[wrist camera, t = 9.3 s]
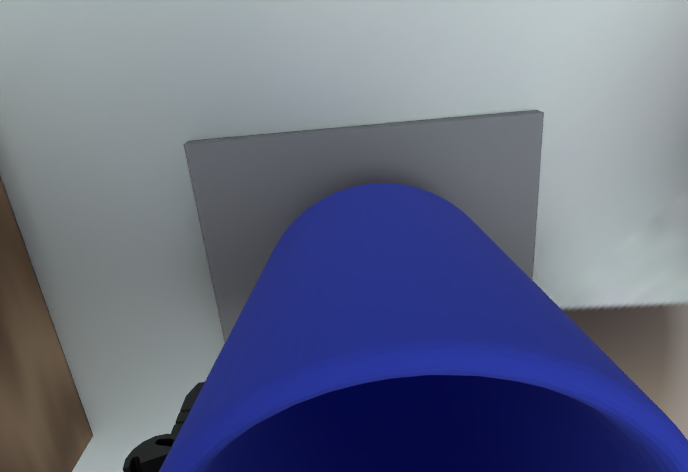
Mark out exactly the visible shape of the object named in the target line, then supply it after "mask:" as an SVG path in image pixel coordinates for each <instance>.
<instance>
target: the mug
mask: <svg viewBox="0 0 688 472" xmlns="http://www.w3.org/2000/svg"><path fill="white" fill-rule="evenodd" d="M159 472H688V440H687V439H686V438H685V437H684V435H683V434H682V433H681V431H680V430H679V429H678V427H677V426H676V425H675V424H674V423H673V422H672V421H671V420H670V419H669V418H668V416H666V414H665V413H664V412H663V411H662V410H661V409H660V408H659V407H658V406H657V405H656V404H654V402H653V401H652V400H650V398H649V397H648V396H647V395H646V394H645V393H644V392H643V391H642V390H641V389H640V388H639V387H638V386H637V385H636V384H635V383H634V382H633V381H632V380H631V379H630V378H629V377H628V376H627V375H626V374H624V372H623V371H622V370H621V369H620V368H619V367H618V366H617V365H616V364H615V363H614V362H613V361H612V360H611V359H610V358H609V357H608V356H607V355H606V354H605V353H604V352H603V351H602V350H601V349H600V348H599V347H598V346H597V345H596V344H595V343H594V342H593V341H592V340H591V339H590V338H589V337H588V336H587V335H586V334H585V333H584V332H583V331H582V330H581V329H580V328H579V327H578V326H577V325H576V324H575V323H574V322H573V321H572V320H571V319H570V318H569V317H568V316H567V315H566V314H565V313H564V312H563V311H562V310H561V309H560V308H559V307H558V306H557V305H556V304H555V303H554V302H553V301H552V300H551V299H550V298H549V297H548V296H547V295H546V294H545V293H544V292H543V291H542V290H541V289H540V288H539V287H538V286H537V285H536V284H535V283H534V282H533V281H532V280H531V279H530V278H529V277H528V276H527V275H526V274H525V273H524V272H523V271H522V270H521V269H520V268H519V267H518V266H517V265H516V264H515V263H514V262H513V261H512V260H511V259H510V258H509V257H508V256H507V255H506V254H505V253H504V252H503V251H502V250H501V249H500V248H499V247H498V246H497V245H496V244H495V243H494V242H493V241H492V240H491V238H490V237H489V236H488V235H487V234H486V233H485V232H484V231H483V230H482V229H481V228H480V227H479V226H478V225H477V224H476V223H475V222H474V221H473V220H472V219H471V218H470V217H468V216H467V215H466V214H465V213H464V212H463V211H461V210H460V209H459V208H457V207H456V206H455V205H453V204H452V203H450V202H448V201H447V200H445V199H443V198H441V197H439V196H437V195H435V194H433V193H431V192H428V191H425V190H422V189H419V188H416V187H412V186H407V185H402V184H393V183H372V184H364V185H358V186H354V187H350V188H347V189H344V190H341V191H338V192H336V193H334V194H331V195H329V196H327V197H325V198H323V199H322V200H320V201H318V202H316V203H315V204H314V205H312V206H311V207H309V208H308V209H307V210H306V211H304V212H303V213H302V214H301V215H300V216H299V217H297V219H296V220H295V221H294V222H293V223H292V224H291V225H290V226H289V227H288V228H287V230H286V231H285V232H284V234H283V235H282V236H281V238H280V240H279V241H278V243H277V245H276V246H275V248H274V250H273V251H272V253H271V255H270V257H269V259H268V261H267V263H266V265H265V267H264V269H263V271H262V273H261V275H260V277H259V279H258V281H257V282H256V284H255V286H254V288H253V290H252V292H251V294H250V296H249V298H248V300H247V302H246V304H245V306H244V308H243V310H242V312H241V313H240V315H239V317H238V319H237V321H236V323H235V325H234V327H233V329H232V331H231V333H230V335H229V337H228V339H227V341H226V343H225V344H224V346H223V348H222V350H221V352H220V354H219V356H218V358H217V360H216V362H215V364H214V366H213V368H212V370H211V372H210V374H209V375H208V377H207V379H206V381H205V383H204V385H203V387H202V389H201V391H200V393H199V395H198V397H197V399H196V401H195V403H194V405H193V406H192V408H191V410H190V412H189V414H188V416H187V418H186V420H185V422H184V424H183V426H182V428H181V430H180V432H179V434H178V436H177V437H176V439H175V441H174V443H173V445H172V447H171V449H170V451H169V453H168V455H167V457H166V459H165V461H164V463H163V465H162V467H161V468H160V470H159Z"/></svg>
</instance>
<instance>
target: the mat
mask: <svg viewBox="0 0 688 472" xmlns="http://www.w3.org/2000/svg"><path fill="white" fill-rule="evenodd" d="M543 117H544V113H543V112H540V111H538V110H533V111H522V112H510V113H499V114H488V115H476V116H465V117H454V118H443V119H431V120H420V121H409V122H397V123H386V124H375V125H363V126H352V127H341V128H329V129H318V130H307V131H295V132H284V133H273V134H261V135H250V136H239V137H227V138H216V139H205V140H193V141H188V142H187V143H185V144H184V148H185V153H186V158H187V162H188V167H189V172H190V177H191V182H192V186H193V191H194V196H195V201H196V206H197V211H198V215H199V220H200V225H201V230H202V235H203V240H204V244H205V249H206V254H207V259H208V264H209V268H210V273H211V278H212V283H213V288H214V293H215V297H216V302H217V307H218V312H219V317H220V322H221V326H222V331H223V336H224V341H225V343H226V341H227V339H228V337H229V335H230V333H231V331H232V329H233V327H234V325H235V323H236V321H237V319H238V317H239V315H240V313H241V312H242V310H243V308H244V306H245V304H246V302H247V300H248V298H249V296H250V294H251V292H252V290H253V288H254V286H255V284H256V282H257V281H258V279H259V277H260V275H261V273H262V271H263V269H264V267H265V265H266V263H267V261H268V259H269V257H270V255H271V253H272V251H273V250H274V248H275V246H276V245H277V243H278V241H279V240H280V238H281V236H282V235H283V234H284V232H285V231H286V230H287V228H288V227H289V226H290V225H291V224H292V223H293V222H294V221H295V220H296V219H297V217H299V216H300V215H301V214H302V213H303V212H304V211H306V210H307V209H308V208H309V207H311V206H312V205H314V204H315V203H316V202H318V201H320V200H322V199H323V198H325V197H327V196H329V195H331V194H334V193H336V192H338V191H341V190H344V189H347V188H350V187H354V186H358V185H364V184H372V183H393V184H402V185H407V186H412V187H416V188H419V189H422V190H425V191H428V192H431V193H433V194H435V195H437V196H439V197H441V198H443V199H445V200H447V201H448V202H450V203H452V204H453V205H455V206H456V207H457V208H459V209H460V210H461V211H463V212H464V213H465V214H466V215H467V216H468V217H470V218H471V219H472V220H473V221H474V222H475V223H476V224H477V225H478V226H479V227H480V228H481V229H482V230H483V231H484V232H485V233H486V234H487V235H488V236H489V237H490V238H491V240H492V241H493V242H494V243H495V244H496V245H497V246H498V247H499V248H500V249H501V250H502V251H503V252H504V253H505V254H506V255H507V256H508V257H509V258H510V259H511V260H512V261H513V262H514V263H515V264H516V265H517V266H518V267H519V268H520V269H521V270H522V271H523V272H524V273H525V274H526V275H527V276H528V277H529V278H530V279H531V280H532V277H533V262H534V248H535V233H536V219H537V204H538V190H539V175H540V160H541V146H542V131H543Z"/></svg>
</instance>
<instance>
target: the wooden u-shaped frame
mask: <svg viewBox="0 0 688 472" xmlns="http://www.w3.org/2000/svg"><path fill="white" fill-rule="evenodd" d="M92 436H93V435H92V432H91V430H90V427H89V424H88V421H87V418H86V416H85V413H84V410H83V407H82V405H81V402H80V399H79V396H78V393H77V391H76V388H75V385H74V382H73V379H72V377H71V374H70V371H69V368H68V365H67V363H66V360H65V357H64V354H63V351H62V349H61V346H60V343H59V340H58V338H57V335H56V332H55V329H54V326H53V324H52V321H51V318H50V315H49V312H48V310H47V307H46V304H45V301H44V298H43V296H42V293H41V290H40V287H39V284H38V282H37V279H36V276H35V273H34V270H33V268H32V265H31V262H30V259H29V257H28V254H27V251H26V248H25V245H24V243H23V240H22V237H21V234H20V231H19V229H18V226H17V223H16V220H15V217H14V215H13V212H12V209H11V206H10V203H9V201H8V198H7V195H6V192H5V190H4V187H3V184H2V181H1V178H0V472H72V470H73V468H74V467H75V465H76V463H77V462H78V460H79V458H80V457H81V455H82V453H83V452H84V450H85V448H86V446H87V445H88V443H89V441H90V440H91V438H92Z"/></svg>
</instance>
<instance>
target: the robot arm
mask: <svg viewBox="0 0 688 472" xmlns="http://www.w3.org/2000/svg"><path fill="white" fill-rule="evenodd" d="M204 383H205V382H202V383H198V384H197V385H196V386H195V387H194V388H193V389H192V390H191V391H190V392H189V393H188V394H187V396H186V397H185V400H184V402H183V405H182V407H181V410H180V413H179V415H178V417H177V420H176V425H174V427H173V430H172V432H171V434H164V435H159V436H155V437H153V438H150V439H148V440H146V441H144V442H142V443H141V444H140V445H138V446H137V447H136V448H134V449H133V450H132V451H131V453H130V454H129V455H128V457H127V458H126V459H125V463H124V467H123V471H124V472H159V470H160V468H161V467H162V465H163V463H164V461H165V459H166V457H167V455H168V453H169V451H170V449H171V447H172V445H173V443H174V441H175V439H176V437H177V436H178V434H179V432H180V430H181V428H182V426H183V424H184V422H185V420H186V418H187V416H188V414H189V412H190V410H191V408H192V406H193V405H194V403H195V401H196V399H197V397H198V395H199V393H200V391H201V389H202V387H203V385H204Z"/></svg>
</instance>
